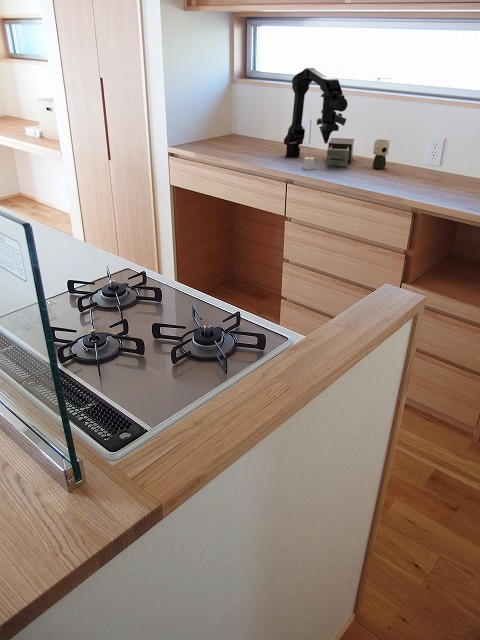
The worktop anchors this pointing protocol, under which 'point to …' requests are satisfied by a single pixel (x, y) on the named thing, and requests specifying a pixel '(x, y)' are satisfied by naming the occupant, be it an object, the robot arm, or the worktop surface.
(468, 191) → the worktop surface
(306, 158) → the tissue roll
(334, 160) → the drawer
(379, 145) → the toy figurine
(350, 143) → the cabinet
